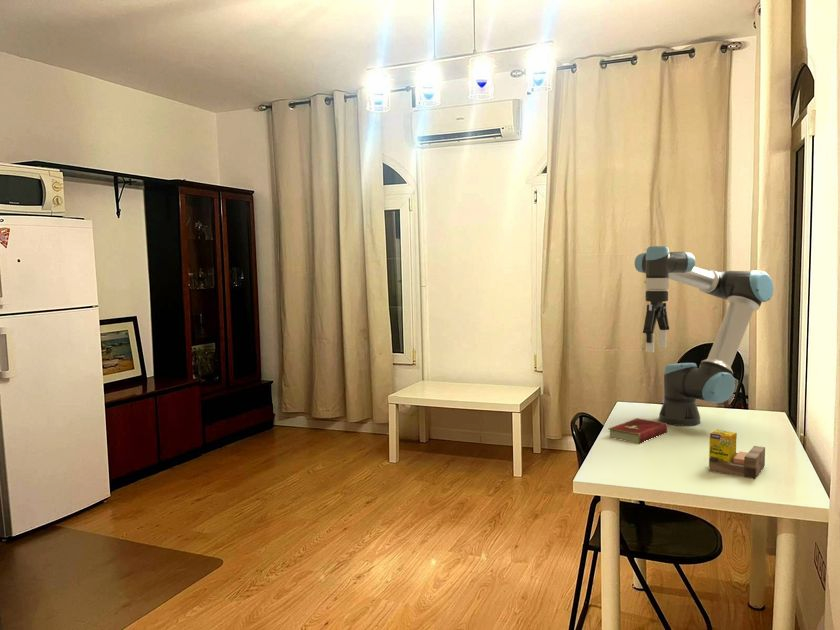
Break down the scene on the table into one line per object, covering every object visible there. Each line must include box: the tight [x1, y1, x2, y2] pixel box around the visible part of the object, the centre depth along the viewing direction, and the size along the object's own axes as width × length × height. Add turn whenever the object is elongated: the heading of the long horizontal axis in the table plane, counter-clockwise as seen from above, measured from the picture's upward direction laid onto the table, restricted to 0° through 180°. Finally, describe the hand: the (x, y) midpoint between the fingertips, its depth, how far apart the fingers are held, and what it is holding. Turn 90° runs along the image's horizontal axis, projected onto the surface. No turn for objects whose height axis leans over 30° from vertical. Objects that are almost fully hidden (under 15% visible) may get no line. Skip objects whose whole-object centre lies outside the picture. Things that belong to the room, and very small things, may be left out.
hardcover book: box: [608, 418, 668, 445], centre depth 232 cm, size 12×21×4 cm, turn 134°
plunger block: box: [733, 451, 748, 464], centre depth 192 cm, size 8×3×4 cm, turn 142°
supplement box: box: [708, 428, 737, 463], centre depth 194 cm, size 6×6×11 cm
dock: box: [708, 445, 766, 480], centre depth 193 cm, size 14×12×6 cm
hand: (656, 350), depth 226 cm, fingers open, 13 cm apart
